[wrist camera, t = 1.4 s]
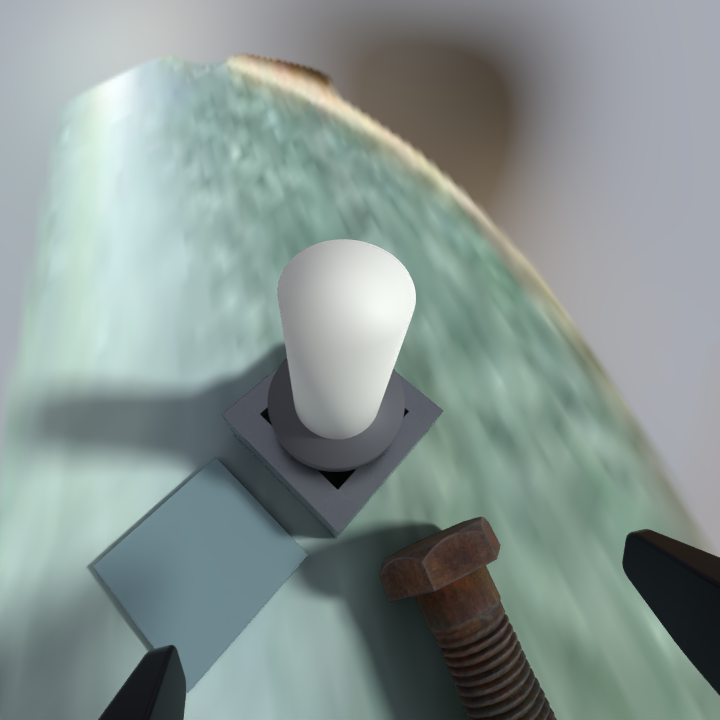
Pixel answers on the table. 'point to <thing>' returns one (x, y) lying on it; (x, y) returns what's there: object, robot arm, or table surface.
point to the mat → (201, 568)
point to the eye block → (308, 482)
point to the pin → (340, 354)
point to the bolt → (468, 620)
